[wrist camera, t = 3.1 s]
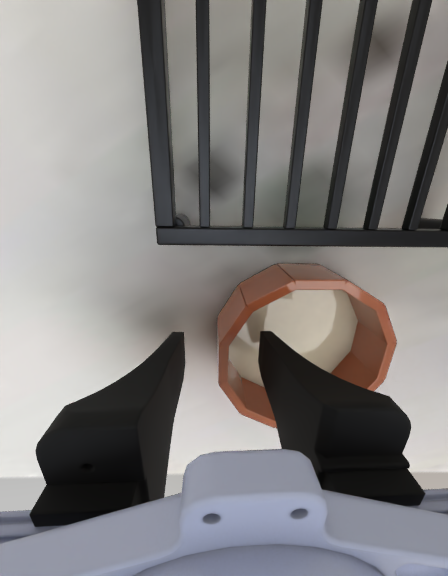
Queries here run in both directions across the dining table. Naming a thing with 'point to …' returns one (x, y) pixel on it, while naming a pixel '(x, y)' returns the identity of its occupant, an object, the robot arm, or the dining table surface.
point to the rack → (161, 152)
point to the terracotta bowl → (301, 331)
